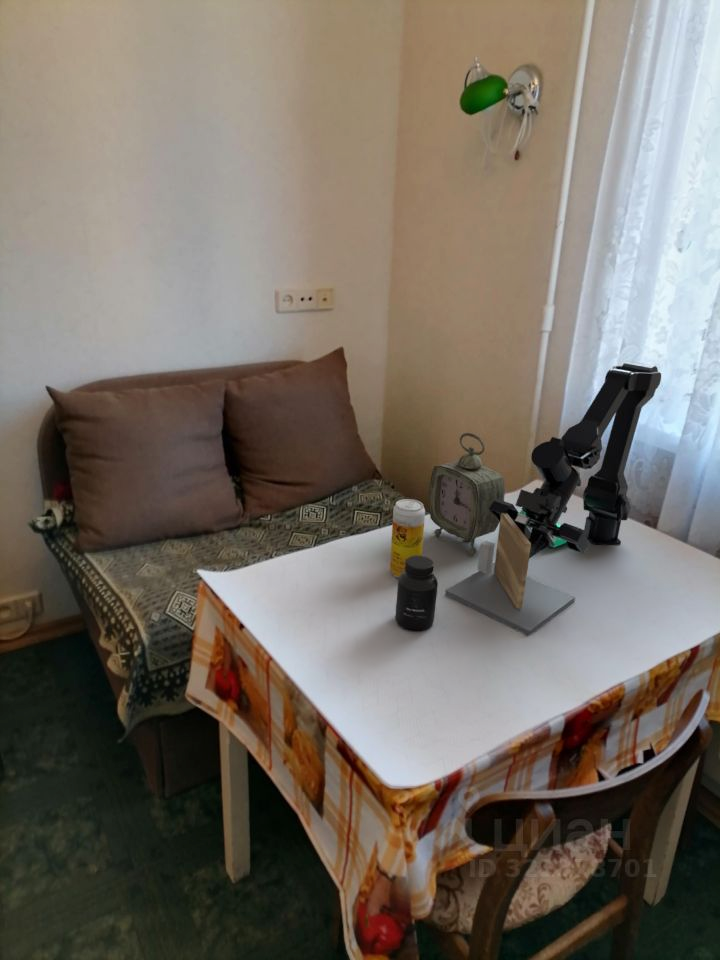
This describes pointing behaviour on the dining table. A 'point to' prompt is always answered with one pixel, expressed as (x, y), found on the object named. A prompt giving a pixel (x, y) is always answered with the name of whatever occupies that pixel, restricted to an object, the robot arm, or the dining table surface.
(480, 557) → the housing stand
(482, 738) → the dining table surface
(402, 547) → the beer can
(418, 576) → the supplement bottle
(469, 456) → the tabletop clock
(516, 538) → the door
